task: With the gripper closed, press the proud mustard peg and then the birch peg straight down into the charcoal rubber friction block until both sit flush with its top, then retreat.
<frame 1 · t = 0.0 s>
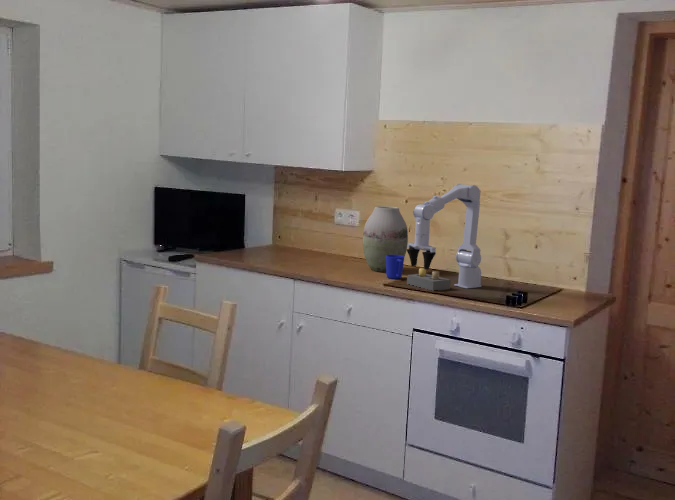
hand: (420, 267, 295), 10 cm above the cooktop, fingers open, 7 cm apart
mustard peg: (422, 273, 312), point 5 cm above the cooktop, slide at 0.0 cm
mug: (395, 279, 324), on the cooktop
vase: (383, 270, 346), on the cooktop
birch peg: (435, 276, 305), point 5 cm above the cooktop, slide at 0.0 cm
friction block: (428, 286, 309), on the cooktop
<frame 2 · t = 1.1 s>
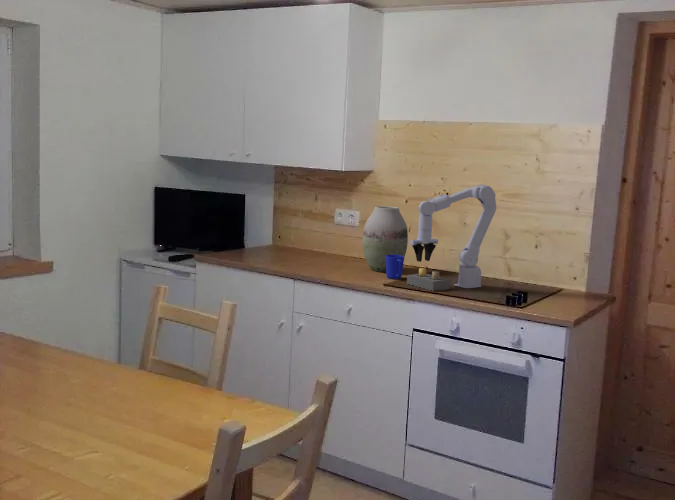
hand: (423, 261, 311), 10 cm above the cooktop, fingers open, 4 cm apart
nothing on the cooktop moved.
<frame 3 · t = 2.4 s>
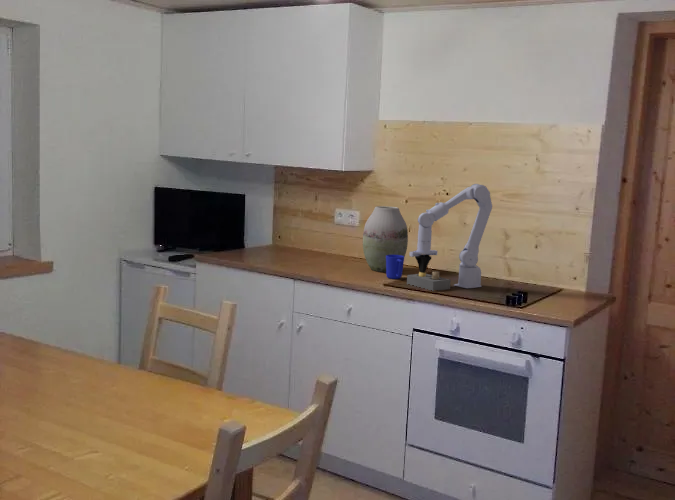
hand: (422, 272, 312), 5 cm above the cooktop, fingers closed, pressing on mustard peg
mustard peg: (422, 277, 312), point 3 cm above the cooktop, slide at 1.5 cm, touching gripper
everything else where it was.
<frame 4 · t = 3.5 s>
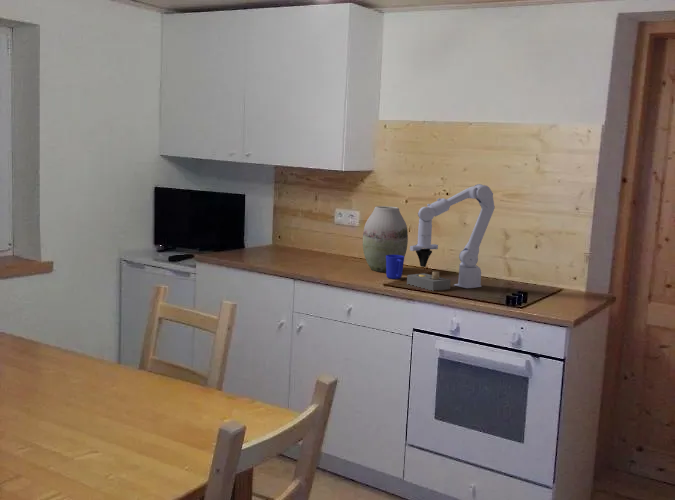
hand: (423, 266, 311), 8 cm above the cooktop, fingers closed
mustard peg: (422, 279, 312), point 2 cm above the cooktop, slide at 2.8 cm
everything else where it was.
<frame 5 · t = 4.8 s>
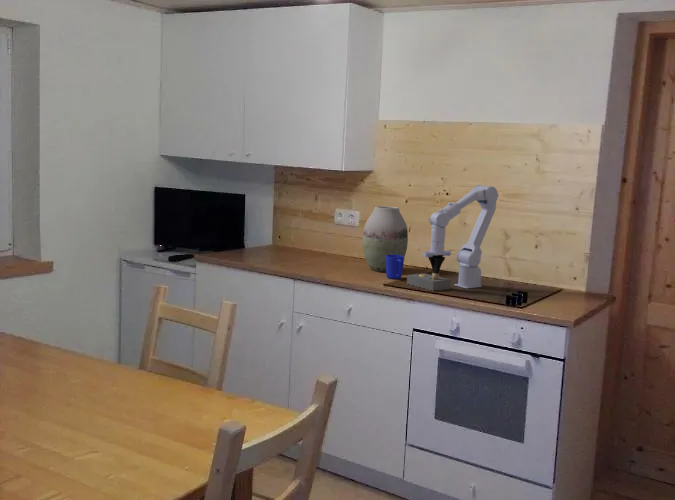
hand: (435, 273, 305), 6 cm above the cooktop, fingers closed, pressing on birch peg
birch peg: (435, 278, 305), point 4 cm above the cooktop, slide at 0.6 cm, touching gripper
everything else where it was.
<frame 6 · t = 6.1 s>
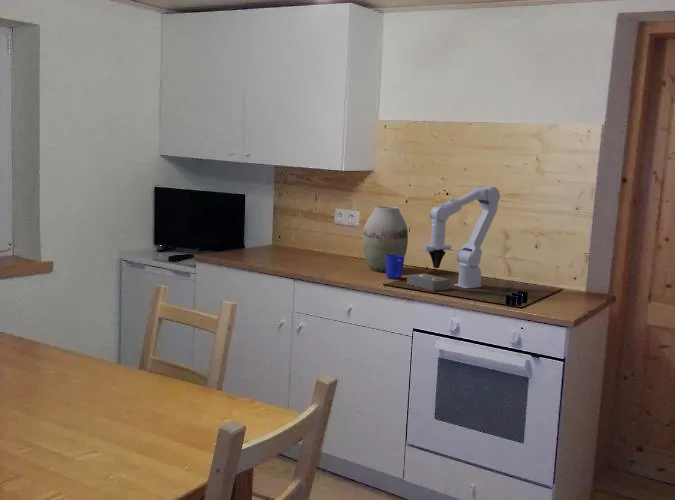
hand: (436, 267, 305), 9 cm above the cooktop, fingers closed
birch peg: (435, 283, 306), point 2 cm above the cooktop, slide at 2.8 cm
everything else where it was.
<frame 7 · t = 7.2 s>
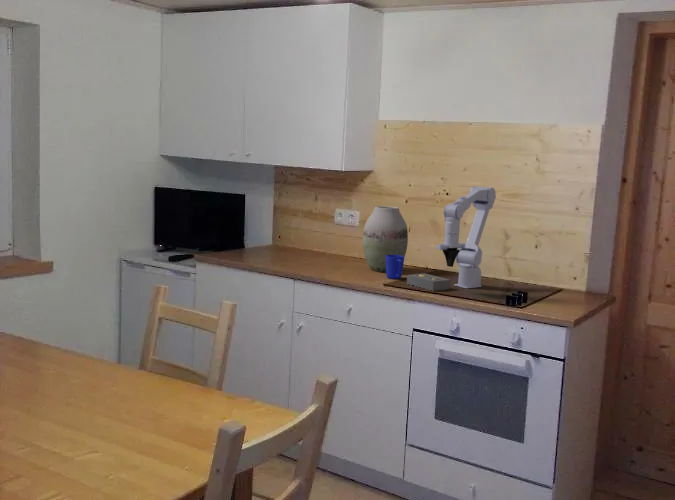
hand: (449, 266, 300), 10 cm above the cooktop, fingers closed
nothing on the cooktop moved.
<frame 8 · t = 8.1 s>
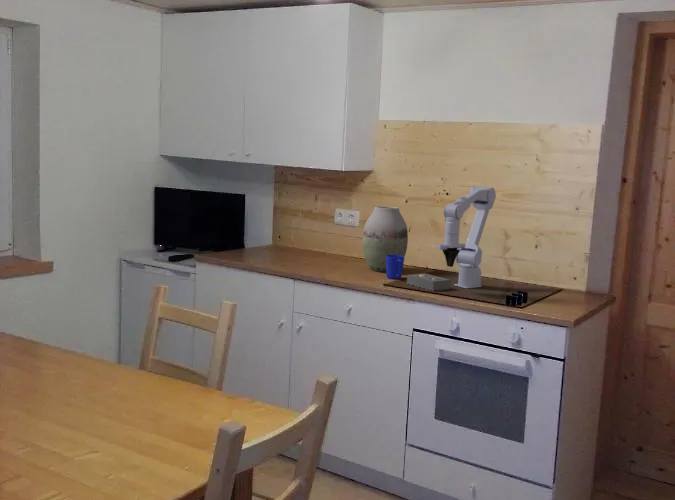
hand: (449, 266, 300), 10 cm above the cooktop, fingers closed
nothing on the cooktop moved.
at the end: mustard peg slide at 2.8 cm; birch peg slide at 2.8 cm; birch peg touching nothing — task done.
